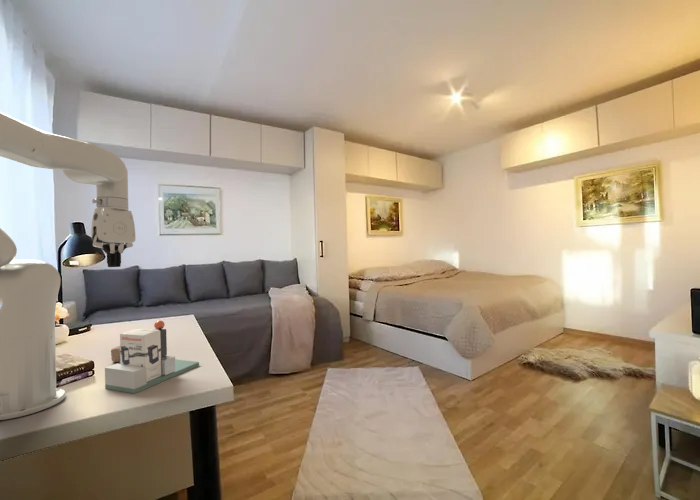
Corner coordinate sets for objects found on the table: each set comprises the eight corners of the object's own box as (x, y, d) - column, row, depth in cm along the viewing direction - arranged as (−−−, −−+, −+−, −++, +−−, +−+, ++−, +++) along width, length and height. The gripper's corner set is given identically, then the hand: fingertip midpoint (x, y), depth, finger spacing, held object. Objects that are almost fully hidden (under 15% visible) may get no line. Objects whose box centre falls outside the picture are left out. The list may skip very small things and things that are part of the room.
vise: (134, 393, 73) (133, 371, 73) (105, 388, 77) (104, 367, 77) (199, 365, 91) (198, 348, 91) (173, 362, 95) (172, 345, 95)
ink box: (119, 380, 79) (118, 332, 79) (137, 372, 84) (136, 328, 84) (145, 383, 77) (144, 334, 77) (162, 375, 81) (161, 329, 82)
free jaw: (165, 375, 81) (164, 323, 81) (137, 371, 84) (136, 321, 84) (178, 369, 85) (177, 320, 85) (151, 366, 88) (150, 318, 88)
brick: (134, 348, 111) (133, 335, 111) (160, 346, 113) (160, 333, 113) (110, 365, 95) (109, 349, 95) (141, 362, 97) (140, 346, 97)
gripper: (93, 200, 86) (94, 268, 86) (145, 207, 100) (147, 265, 100) (75, 202, 88) (77, 268, 88) (129, 209, 102) (130, 266, 102)
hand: (114, 266), depth 94 cm, fingers closed
